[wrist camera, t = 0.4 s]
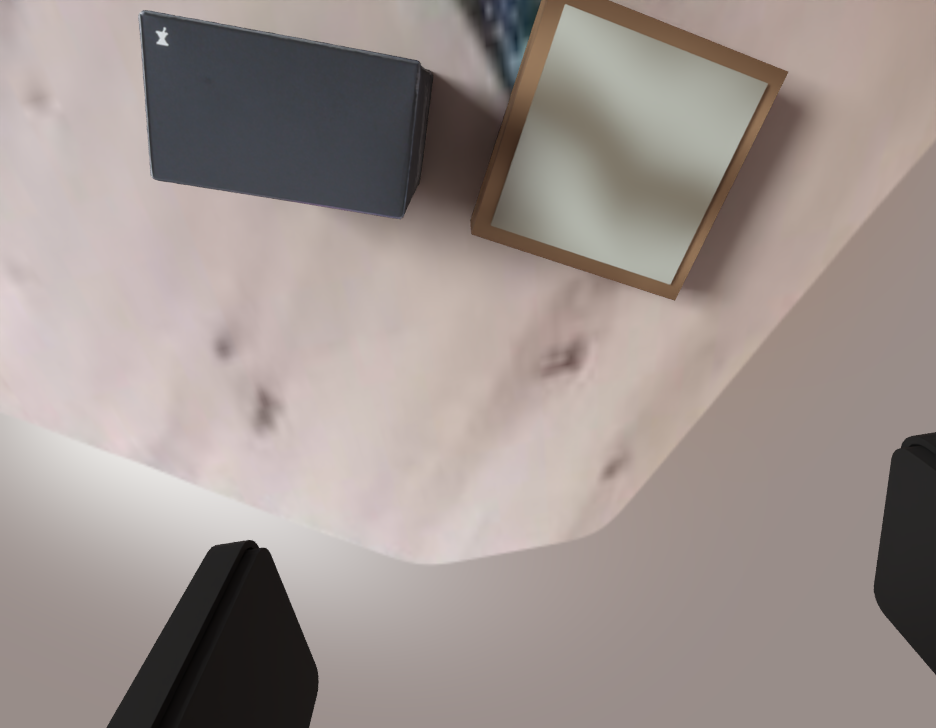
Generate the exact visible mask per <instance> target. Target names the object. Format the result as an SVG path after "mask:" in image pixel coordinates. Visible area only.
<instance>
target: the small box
mask: <svg viewBox="0 0 936 728" xmlns="http://www.w3.org/2000/svg"><path fill="white" fill-rule="evenodd" d="M138 19H139V28H140V39H141V48H142V63H143V79H144V90H145V105H146V118H147V132H148V146H149V157H150V172H151V176H152V178H153V179H155V180H158V181H164V182H172V183H177V184H184V185H190V186H197V187H203V188H209V189H216V190H222V191H228V192H235V193H241V194H247V195H254V196H260V197H267V198H273V199H279V200H285V201H291V202H298V203H304V204H310V205H316V206H322V207H328V208H335V209H341V210H347V211H353V212H359V213H365V214H371V215H377V216H383V217H389V218H395V219H401V218H403V216H404V214H405V212H406V209H407V207H408V205H409V203H410V200H411V198H412V196H413V194H414V192H415V190H416V188H417V186H418V185H419V182H420V175H421V168H422V161H423V153H424V145H425V137H426V130H427V121H428V113H429V106H430V98H431V90H432V82H433V74H432V72H431V71H430V70H426V69H425V68H423V67H422V66H421V63H420V62H419V61H417V60H412V59H407V58H402V57H397V56H392V55H386V54H381V53H376V52H371V51H366V50H360V49H354V48H349V47H344V46H338V45H333V44H329V43H323V42H317V41H311V40H307V39H302V38H296V37H290V36H285V35H279V34H275V33H270V32H263V31H257V30H251V29H246V28H241V27H237V26H231V25H225V24H219V23H215V22H209V21H203V20H198V19H193V18H186V17H181V16H175V15H170V14H165V13H159V12H154V11H147V10H143V11H142V12H140V13H139V18H138Z"/></svg>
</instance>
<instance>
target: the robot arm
mask: <svg viewBox="0 0 936 728" xmlns="http://www.w3.org/2000/svg"><path fill="white" fill-rule="evenodd" d="M874 593H875V598H876V601H877V603H878V605H879V607H880V609H881V610H882V612H883V613H884V615H885V616H886V617H887V618H888V619H889V621H890V622H891V623H892V624H893V625H894V626H895V627H896V629H897V630H898V631H899V632H900V633H901V635H902V636H903V637H904V638H905V639H906V640H907V642H908V643H909V644H910V645H911V646H912V647H913V649H914V650H915V651H916V652H917V653H918V654H919V655H920V657H921V658H922V659H923V660H924V662H925V663H926V664H927V665H928V666H929V667H930V669H931V670H932V671H933V672H934V673H935V674H936V432H935V433H928V434H922V435H916V436H911V437H908V438H906V439H905V440H904V442H903V443H902V446H901V448H900V449H897V450H896V451H895V452H894V453H893V455H892V459H891V466H890V474H889V481H888V488H887V495H886V502H885V509H884V517H883V524H882V531H881V538H880V545H879V552H878V560H877V567H876V575H875V581H874ZM317 692H318V671H317V667H316V664H315V662H314V659H313V657H312V654H311V652H310V649H309V647H308V644H307V642H306V640H305V637H304V635H303V632H302V630H301V628H300V625H299V623H298V620H297V618H296V615H295V613H294V610H293V608H292V605H291V603H290V600H289V598H288V595H287V593H286V590H285V588H284V585H283V583H282V581H281V578H280V576H279V573H278V571H277V569H276V566H275V563H274V561H273V558H272V556H271V554H270V552H269V550H268V549H266V548H259V547H258V545H257V544H256V543H255V542H254V541H252V540H247V541H240V542H233V543H228V544H220V545H215V546H213V547H211V549H210V550H209V551H208V552H207V554H206V556H205V558H204V559H203V561H202V563H201V565H200V566H199V568H198V570H197V571H196V573H195V575H194V577H193V579H192V580H191V582H190V584H189V585H188V587H187V589H186V591H185V592H184V594H183V596H182V598H181V599H180V601H179V603H178V604H177V606H176V608H175V610H174V611H173V613H172V615H171V617H170V618H169V620H168V622H167V624H166V625H165V627H164V629H163V630H162V632H161V634H160V636H159V637H158V639H157V641H156V643H155V644H154V646H153V648H152V650H151V651H150V653H149V655H148V657H147V658H146V660H145V662H144V664H143V665H142V667H141V669H140V670H139V672H138V674H137V676H136V677H135V679H134V681H133V683H132V684H131V686H130V688H129V690H128V691H127V693H126V695H125V696H124V698H123V700H122V702H121V704H120V705H119V707H118V709H117V710H116V712H115V714H114V716H113V717H112V719H111V721H110V723H109V724H108V726H107V728H309V726H310V721H311V717H312V713H313V709H314V704H315V701H316V697H317Z"/></svg>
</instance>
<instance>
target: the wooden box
mask: <svg viewBox="0 0 936 728" xmlns="http://www.w3.org/2000/svg"><path fill="white" fill-rule="evenodd" d="M787 74H788V72H787V71H785V70H782V69H780V68H777V67H775V66H772V65H770V64H767V63H765V62H762V61H760V60H757V59H755V58H752V57H750V56H747V55H745V54H742V53H740V52H737V51H735V50H732V49H730V48H727V47H725V46H722V45H720V44H717V43H715V42H712V41H710V40H707V39H705V38H702V37H700V36H697V35H694V34H692V33H689V32H687V31H684V30H682V29H679V28H677V27H674V26H672V25H669V24H667V23H664V22H662V21H659V20H657V19H654V18H652V17H649V16H647V15H644V14H642V13H639V12H637V11H634V10H632V9H629V8H627V7H624V6H622V5H619V4H617V3H614V2H612V1H609V0H541V3H540V6H539V10H538V13H537V16H536V19H535V22H534V25H533V28H532V31H531V34H530V37H529V41H528V44H527V47H526V50H525V53H524V56H523V59H522V62H521V65H520V68H519V72H518V75H517V78H516V81H515V84H514V87H513V90H512V93H511V96H510V99H509V103H508V106H507V109H506V112H505V115H504V118H503V121H502V124H501V127H500V130H499V134H498V137H497V140H496V143H495V146H494V149H493V152H492V155H491V158H490V161H489V165H488V168H487V171H486V174H485V177H484V180H483V183H482V186H481V189H480V192H479V195H478V199H477V202H476V205H475V208H474V211H473V214H472V217H471V220H470V221H471V234H472V235H475V236H478V237H481V238H485V239H488V240H491V241H494V242H497V243H500V244H503V245H506V246H509V247H512V248H515V249H518V250H521V251H524V252H527V253H531V254H534V255H537V256H540V257H543V258H546V259H549V260H552V261H555V262H558V263H561V264H564V265H567V266H570V267H574V268H577V269H580V270H583V271H586V272H589V273H592V274H595V275H598V276H601V277H604V278H607V279H610V280H613V281H616V282H620V283H623V284H626V285H629V286H632V287H635V288H638V289H641V290H644V291H647V292H650V293H653V294H656V295H659V296H662V297H666V298H669V299H672V300H675V299H676V297H677V295H678V293H679V291H680V289H681V287H682V285H683V283H684V281H685V279H686V277H687V275H688V273H689V271H690V269H691V267H692V265H693V263H694V261H695V259H696V257H697V255H698V253H699V251H700V249H701V247H702V245H703V243H704V241H705V239H706V237H707V235H708V233H709V231H710V229H711V227H712V225H713V223H714V221H715V219H716V217H717V215H718V213H719V211H720V209H721V207H722V205H723V203H724V201H725V199H726V197H727V195H728V193H729V191H730V189H731V187H732V185H733V183H734V181H735V179H736V176H737V174H738V172H739V170H740V168H741V166H742V164H743V162H744V160H745V158H746V156H747V154H748V152H749V150H750V148H751V146H752V144H753V142H754V140H755V138H756V136H757V134H758V132H759V130H760V128H761V126H762V124H763V122H764V120H765V118H766V116H767V114H768V112H769V110H770V108H771V106H772V104H773V102H774V100H775V98H776V96H777V94H778V92H779V90H780V88H781V86H782V84H783V82H784V80H785V78H786V76H787Z"/></svg>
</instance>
